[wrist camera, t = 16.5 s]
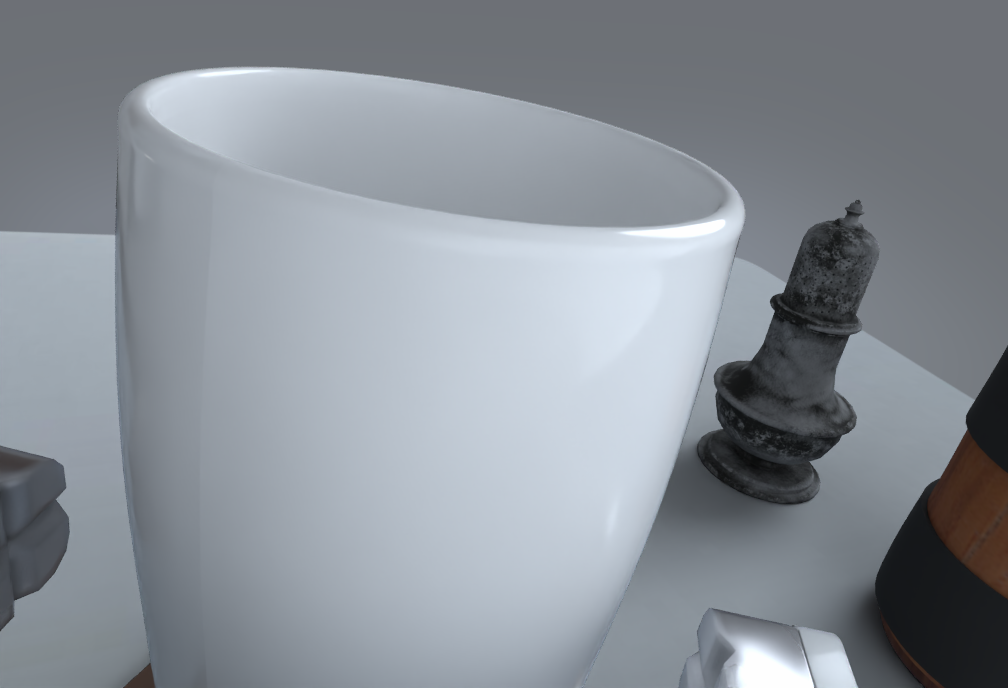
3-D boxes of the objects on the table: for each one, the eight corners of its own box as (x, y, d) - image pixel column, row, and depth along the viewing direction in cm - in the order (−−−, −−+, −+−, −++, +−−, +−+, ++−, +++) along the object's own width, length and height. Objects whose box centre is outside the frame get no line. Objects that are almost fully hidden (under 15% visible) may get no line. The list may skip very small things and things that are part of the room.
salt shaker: (850, 482, 35) (967, 221, 29) (781, 525, 31) (902, 233, 26) (738, 416, 38) (824, 174, 33) (664, 447, 34) (749, 178, 29)
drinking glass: (110, 1218, 11) (17, 191, 5) (162, 775, 17) (152, 39, 11) (555, 1095, 13) (907, 268, 7) (467, 739, 19) (613, 106, 13)
